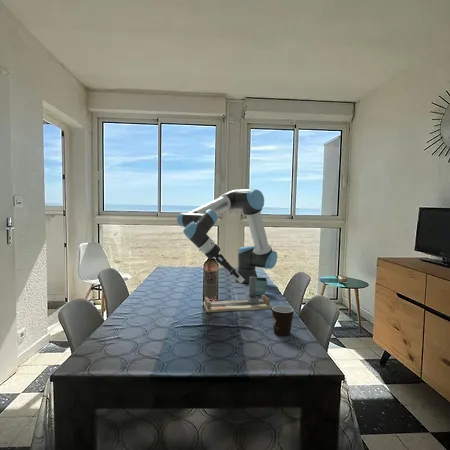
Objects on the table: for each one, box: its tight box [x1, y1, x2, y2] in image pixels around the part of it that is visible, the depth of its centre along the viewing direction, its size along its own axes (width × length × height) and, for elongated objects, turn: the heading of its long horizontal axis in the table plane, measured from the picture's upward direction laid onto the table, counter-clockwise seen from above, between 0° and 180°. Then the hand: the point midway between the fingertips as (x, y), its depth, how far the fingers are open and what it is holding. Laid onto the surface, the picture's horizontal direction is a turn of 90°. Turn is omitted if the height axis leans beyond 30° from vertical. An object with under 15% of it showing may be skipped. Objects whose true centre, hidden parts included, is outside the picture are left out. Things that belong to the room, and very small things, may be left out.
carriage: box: [245, 276, 260, 303], centre depth 163 cm, size 7×4×12 cm, turn 13°
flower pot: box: [256, 276, 268, 296], centre depth 184 cm, size 9×9×9 cm
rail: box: [203, 294, 272, 313], centre depth 162 cm, size 12×32×4 cm, turn 103°
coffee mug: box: [271, 305, 294, 338], centre depth 131 cm, size 12×9×10 cm
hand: (239, 278), depth 161 cm, fingers open, 13 cm apart
